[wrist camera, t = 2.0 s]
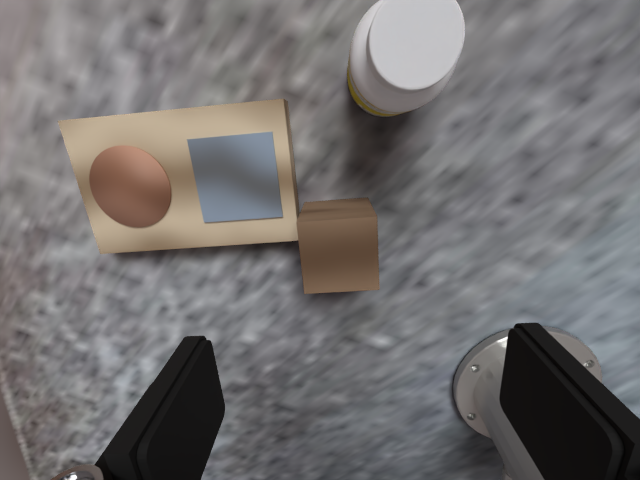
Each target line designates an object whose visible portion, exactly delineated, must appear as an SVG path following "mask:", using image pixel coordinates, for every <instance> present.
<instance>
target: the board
mask: <svg viewBox="0 0 640 480" xmlns="http://www.w3.org/2000/svg"><path fill="white" fill-rule="evenodd" d="M58 123H59V126H60V129H61V132H62V136H63V139H64V142H65V145H66V148H67V151H68V154H69V157H70V161H71V164H72V167H73V170H74V173H75V176H76V179H77V182H78V186H79V189H80V192H81V195H82V198H83V201H84V204H85V207H86V211H87V214H88V217H89V220H90V223H91V226H92V229H93V232H94V235H95V239H96V242H97V245H98V248H99V251H100V254H106V253H121V252H136V251H151V250H166V249H181V248H196V247H211V246H226V245H240V244H255V243H270V242H285V241H298V233H297V224H296V222H297V220H298V217H299V215H300V212H299V202H298V193H297V184H296V175H295V165H294V156H293V147H292V138H291V129H290V119H289V110H288V101H286V100H285V99H275V100H265V101H255V102H245V103H235V104H225V105H214V106H204V107H194V108H184V109H174V110H164V111H153V112H143V113H133V114H123V115H113V116H102V117H92V118H82V119H72V120H62V121H58Z"/></svg>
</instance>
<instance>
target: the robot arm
mask: <svg viewBox="0 0 640 480" xmlns="http://www.w3.org/2000/svg"><path fill="white" fill-rule="evenodd" d="M453 394H454V399H455V402H456V405H457V408H458V410H459V412H460V414H461V416H462V418H463V419H464V420H465V421H466V423H467V424H468V425H469V426H470V427H471V428H473V429H474V430H475V431H476V432H478V433H480V434H482V435H484V436H486V437H488V438H491V439H492V440H493V442H494V444H495V446H496V448H497V450H498V452H499V454H500V456H501V458H502V460H503V462H504V465H503V473H502V480H640V419H639V418H638V417H637V416H636V415H635V414H633V413H632V412H631V411H630V410H629V409H628V408H627V407H626V406H625V405H624V404H623V403H622V402H621V401H620V400H619V399H618V398H617V397H616V396H615V395H614V394H612V393H611V392H610V391H609V390H608V389H607V388H606V387H605V386H604V385H603V384H602V372H601V366H600V364H599V362H598V360H597V357H596V356H595V355H594V354H593V352H592V351H591V350H590V349H589V348H588V347H587V346H586V345H585V344H584V343H583V342H581V341H580V340H579V339H578V338H576V337H575V336H573V335H571V334H570V333H568V332H565V331H563V330H560V329H557V328H553V327H547V326H541V325H540V324H538V323H518V324H515V326H514V328H512V329H508V330H505V331H502V332H499V333H497V334H495V335H493V336H491V337H489V338H487V339H485V340H484V341H483V342H481V343H480V344H478V345H477V346H475V347H474V348H473V349H472V350H471V351H470V352H469V353H468V354H467V355H466V357H465V358H464V359H463V361H462V362H461V364H460V365H459V367H458V370H457V372H456V375H455V378H454V384H453ZM224 413H225V403H224V398H223V394H222V389H221V384H220V380H219V375H218V370H217V365H216V361H215V356H214V351H213V347H212V343H211V341H210V340H206V338H205V336H187V337H185V338H184V339H183V340H182V342H181V343H180V344H179V346H178V347H177V349H176V350H175V352H174V353H173V355H172V356H171V357H170V359H169V360H168V362H167V363H166V365H165V366H164V368H163V369H162V370H161V372H160V373H159V375H158V376H157V378H156V379H155V381H154V382H153V383H152V384H151V385H150V386H149V388H148V389H147V390H146V392H145V393H144V395H143V396H142V398H141V399H140V400H139V402H138V403H137V405H136V406H135V408H134V409H133V410H132V412H131V413H130V415H129V416H128V418H127V419H126V421H125V422H124V423H123V425H122V426H121V428H120V429H119V431H118V432H117V433H116V435H115V436H114V438H113V439H112V441H111V442H110V443H109V445H108V446H107V448H106V449H105V451H104V452H103V453H102V455H101V456H100V458H99V459H98V461H97V462H96V464H95V465H91V464H83V465H79V466H74V467H72V468H70V469H68V470H65V471H63V472H61V473H60V474H58V475H57V476H55V477H53V478H52V479H50V480H201V477H202V474H203V472H204V469H205V466H206V463H207V461H208V458H209V455H210V453H211V450H212V447H213V444H214V442H215V439H216V436H217V434H218V431H219V428H220V426H221V423H222V420H223V417H224Z"/></svg>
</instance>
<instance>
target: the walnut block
mask: <svg viewBox="0 0 640 480" xmlns="http://www.w3.org/2000/svg"><path fill="white" fill-rule="evenodd" d="M296 224H297V233H298V242H299V251H300V259H301V268H302V277H303V286H304V294H311V293H329V292H347V291H365V290H379V262H378V231H377V215H376V213H375V211H374V209H373V207H372V205H371V203H370V201H369V199H368V198H355V199H341V200H328V201H315V202H305V203H304V205H303V208H302V210H301V212H300V215H299V217H298V220H297V222H296Z"/></svg>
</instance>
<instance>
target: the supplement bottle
mask: <svg viewBox="0 0 640 480" xmlns="http://www.w3.org/2000/svg"><path fill="white" fill-rule="evenodd" d="M464 38H465V24H464V18H463V14H462V11H461V9H460V7H459V5H458V3H457V1H456V0H380V1H378V2H377V3H376V4H374V5H373V6H372V7H371V8H370V9H369V10H368V11H367V12H366V13H365V15H364V16H363V18H362V19H361V21H360V22H359V24H358V26H357V28H356V30H355V33H354V36H353V39H352V42H351V47H350V54H349V61H348V70H347V81H348V87H349V91H350V94H351V96H352V98H353V99H354V101H355V102H356V104H357V105H358V106H359V107H360V108H361V109H362V110H364V111H365V112H367V113H369V114H371V115H374V116H378V117H390V116H395V115H398V114H402V113H405V112H409V111H412V110H415V109H417V108H419V107H422V106H424V105H425V104H427V103H429V102H430V101H431V100H433V99H434V98H435V97H436V96H438V94H439V93H440V92H441V91H442V90H443V89H444V88H445V86H446V85H447V83H448V82H449V80H450V78H451V77H452V75H453V72H454V70H455V67H456V63H457V60H458V58H459V56H460V54H461V51H462V48H463V44H464Z"/></svg>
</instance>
